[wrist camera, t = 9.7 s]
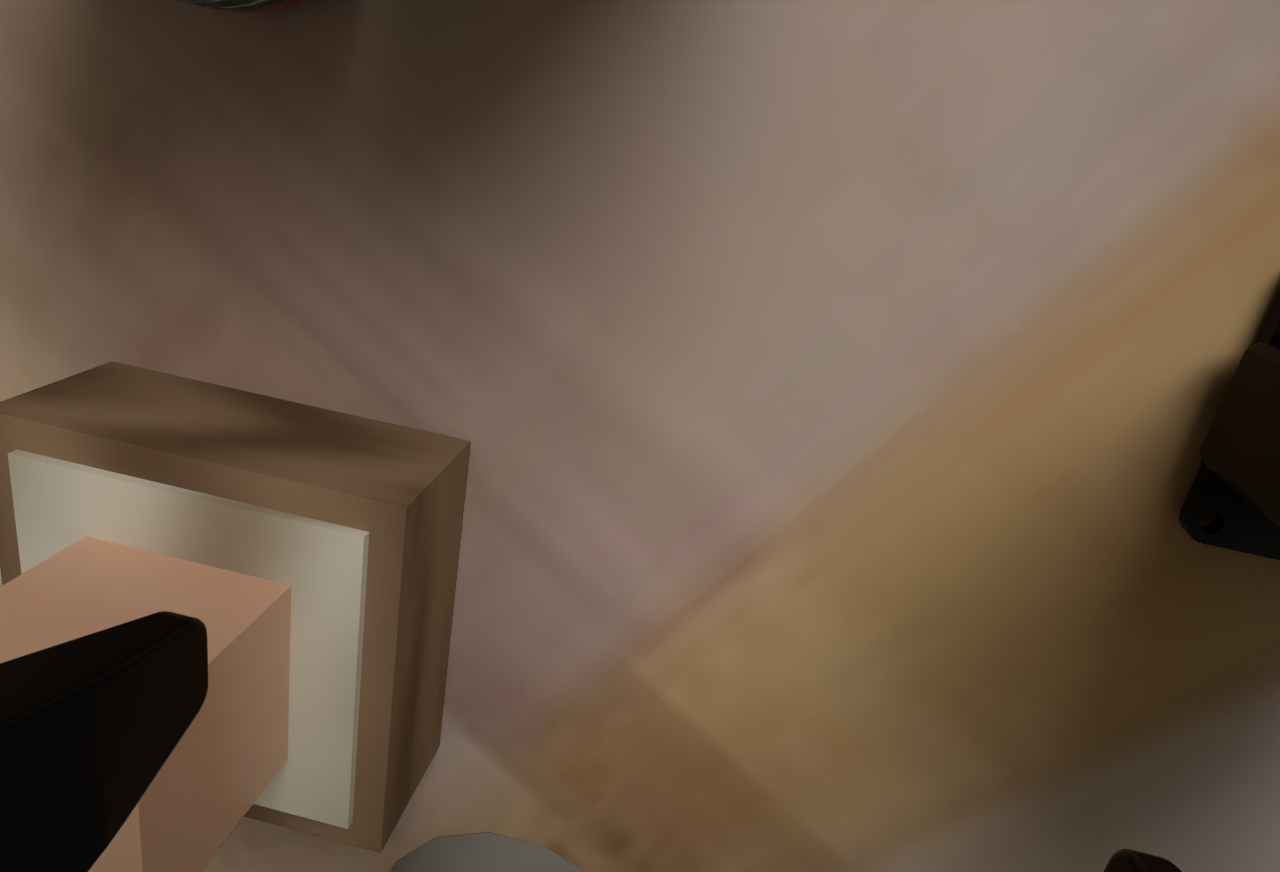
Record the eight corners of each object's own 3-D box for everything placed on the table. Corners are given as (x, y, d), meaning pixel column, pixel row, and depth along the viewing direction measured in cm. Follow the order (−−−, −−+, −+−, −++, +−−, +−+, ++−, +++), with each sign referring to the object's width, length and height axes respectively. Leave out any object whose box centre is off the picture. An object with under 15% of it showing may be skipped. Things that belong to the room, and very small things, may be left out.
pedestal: (470, 441, 22) (401, 512, 18) (439, 746, 26) (376, 860, 22) (110, 361, 23) (-30, 412, 19) (130, 667, 26) (16, 763, 23)
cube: (287, 759, 21) (147, 940, 16) (100, 710, 21) (-89, 874, 17) (291, 585, 19) (133, 734, 15) (85, 535, 20) (-132, 665, 15)
